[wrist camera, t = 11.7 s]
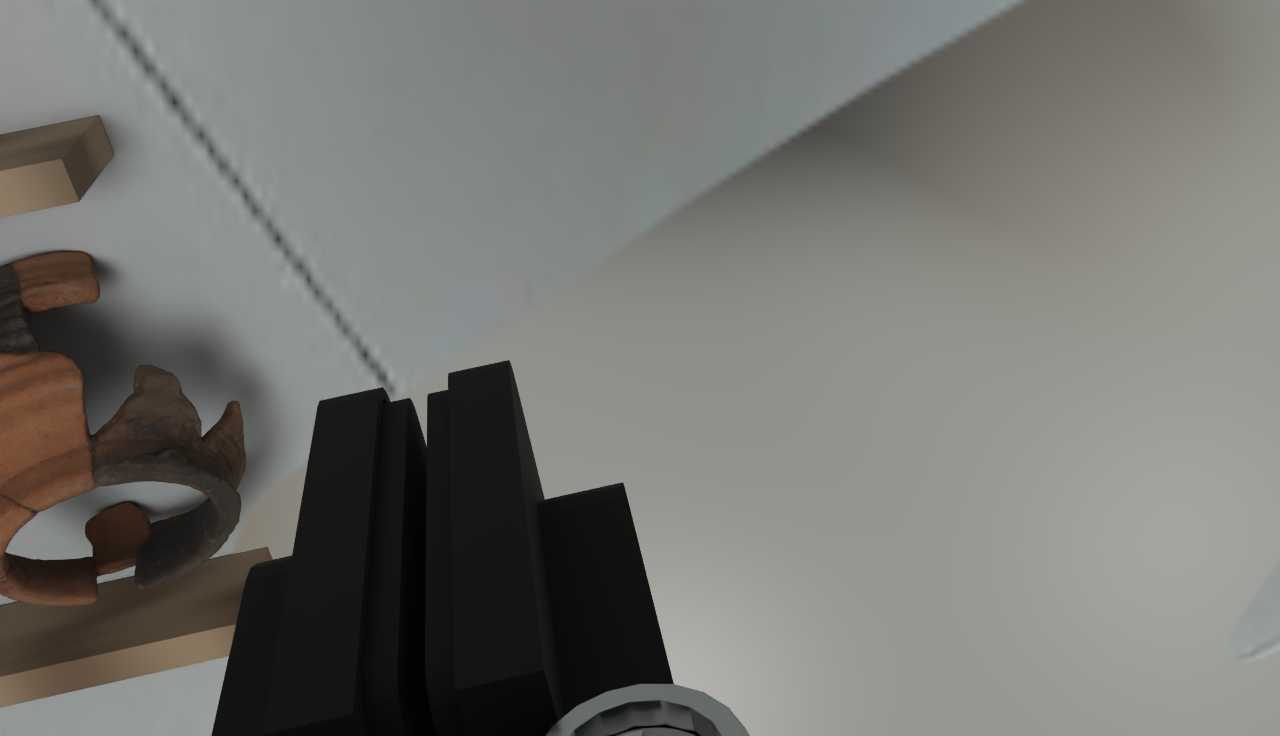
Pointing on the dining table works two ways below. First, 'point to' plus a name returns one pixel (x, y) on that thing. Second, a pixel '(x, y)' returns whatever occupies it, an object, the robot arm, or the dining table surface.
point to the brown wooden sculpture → (100, 451)
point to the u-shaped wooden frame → (123, 614)
